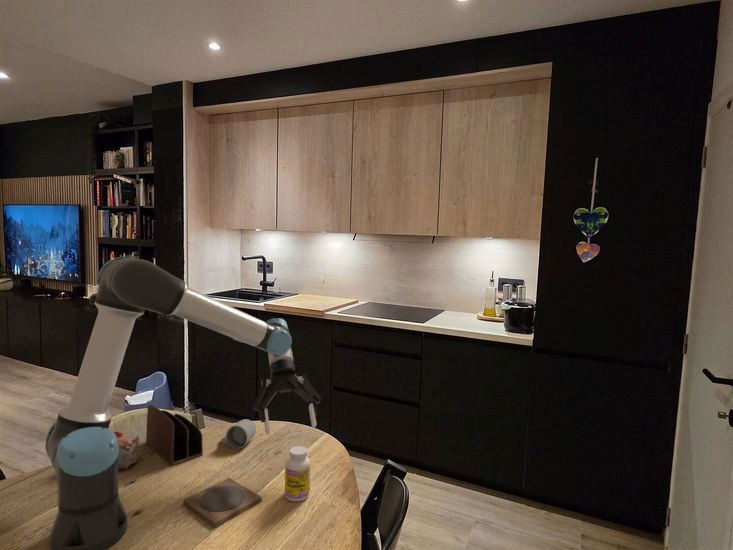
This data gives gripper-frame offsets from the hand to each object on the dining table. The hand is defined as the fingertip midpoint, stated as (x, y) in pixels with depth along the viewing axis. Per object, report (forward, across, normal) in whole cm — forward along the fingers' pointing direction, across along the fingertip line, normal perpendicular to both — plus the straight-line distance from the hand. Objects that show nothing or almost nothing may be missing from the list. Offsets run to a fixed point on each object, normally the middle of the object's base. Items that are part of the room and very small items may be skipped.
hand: (291, 429), depth 129 cm
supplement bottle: (+17, 0, -3) cm, 17 cm away
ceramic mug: (-8, +12, -29) cm, 32 cm away
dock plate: (+15, +20, -5) cm, 25 cm away
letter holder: (-9, +32, -30) cm, 45 cm away
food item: (-6, +48, -27) cm, 55 cm away
